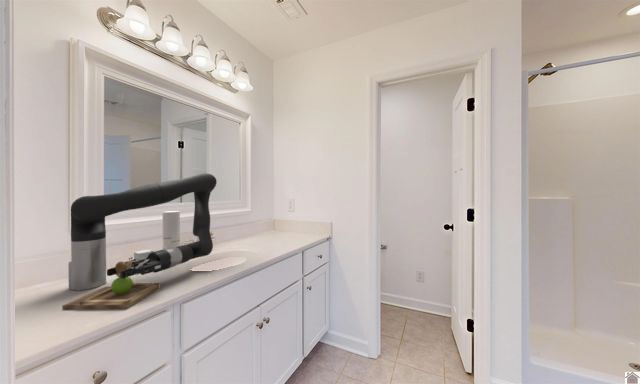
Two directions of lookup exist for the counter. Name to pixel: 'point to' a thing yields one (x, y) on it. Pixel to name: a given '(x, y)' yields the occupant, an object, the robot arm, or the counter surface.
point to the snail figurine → (122, 283)
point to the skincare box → (142, 254)
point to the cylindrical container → (171, 229)
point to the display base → (113, 297)
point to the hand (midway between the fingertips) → (114, 273)
